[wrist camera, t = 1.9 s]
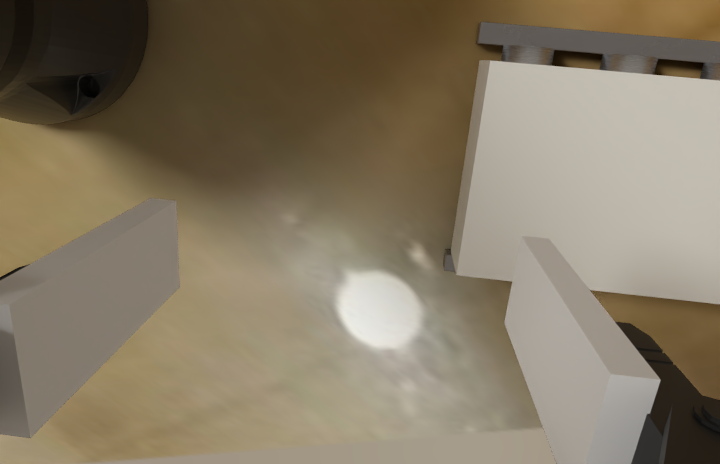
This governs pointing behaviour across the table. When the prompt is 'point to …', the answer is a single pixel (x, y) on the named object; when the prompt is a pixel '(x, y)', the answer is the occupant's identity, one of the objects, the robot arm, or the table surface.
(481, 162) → the slab
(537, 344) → the robot arm
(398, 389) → the table surface
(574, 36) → the roller bed
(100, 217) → the table surface
